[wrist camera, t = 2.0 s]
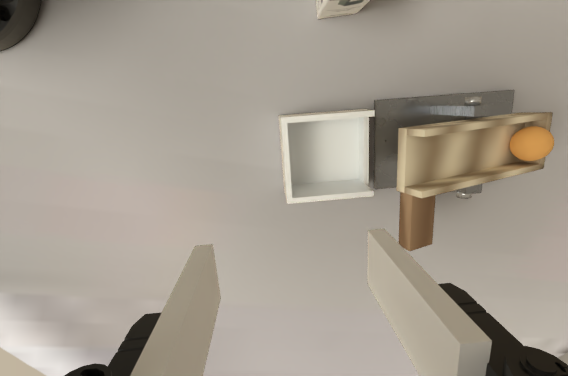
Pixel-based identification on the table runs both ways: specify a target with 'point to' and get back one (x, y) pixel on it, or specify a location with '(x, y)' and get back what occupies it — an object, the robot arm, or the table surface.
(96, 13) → the table surface
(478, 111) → the stand
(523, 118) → the lever
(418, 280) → the robot arm
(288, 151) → the white open box
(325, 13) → the ink box
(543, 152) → the ball
